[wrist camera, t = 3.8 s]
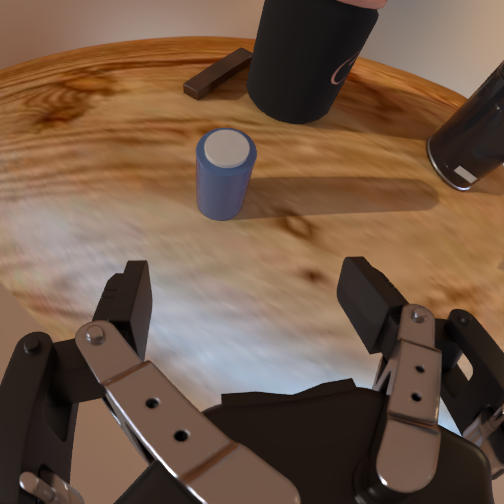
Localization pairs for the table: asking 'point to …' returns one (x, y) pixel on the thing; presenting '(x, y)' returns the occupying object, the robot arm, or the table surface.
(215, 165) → the salt shaker
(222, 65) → the walnut stick
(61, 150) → the table surface
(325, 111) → the coffee jar
